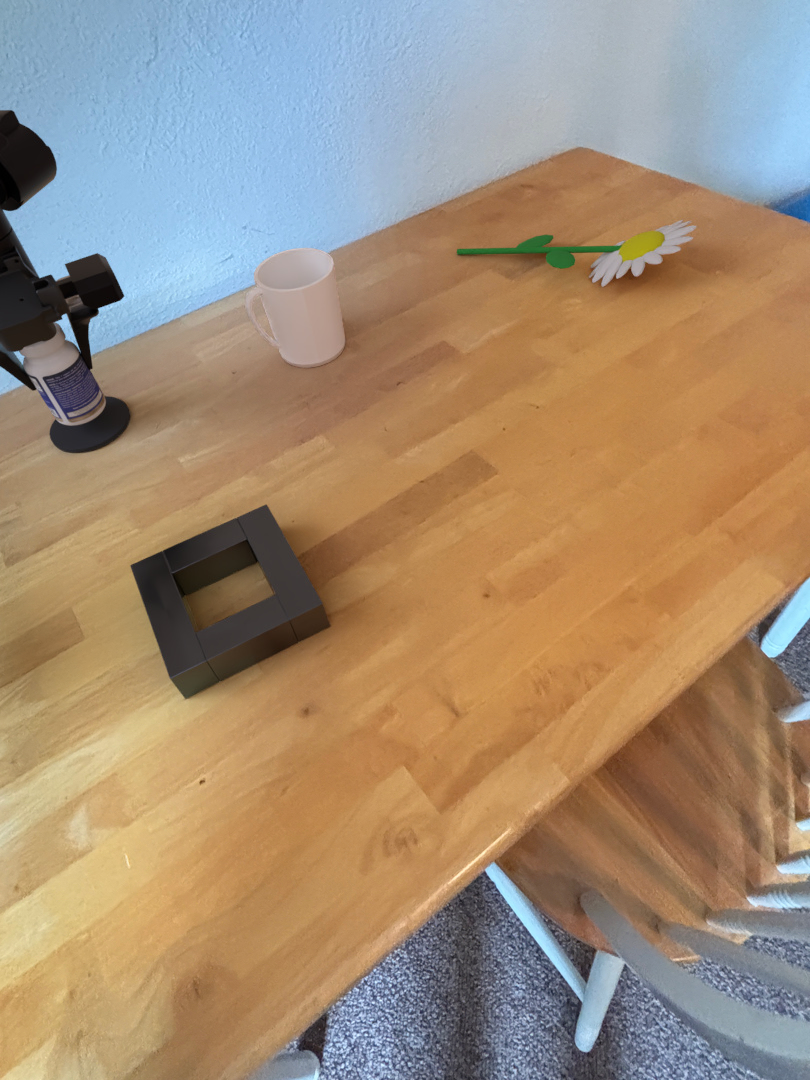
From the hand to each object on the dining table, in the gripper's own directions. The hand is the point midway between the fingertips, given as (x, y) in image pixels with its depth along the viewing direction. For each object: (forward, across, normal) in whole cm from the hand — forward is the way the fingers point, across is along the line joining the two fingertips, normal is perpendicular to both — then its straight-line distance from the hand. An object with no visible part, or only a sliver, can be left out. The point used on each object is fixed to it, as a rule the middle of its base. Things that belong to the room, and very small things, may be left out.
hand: (62, 377), depth 75 cm
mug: (+7, +26, -2) cm, 27 cm away
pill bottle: (+5, 0, 0) cm, 5 cm away
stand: (+7, +6, -33) cm, 34 cm away
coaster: (+7, 0, 0) cm, 7 cm away
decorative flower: (+7, +61, -6) cm, 62 cm away
